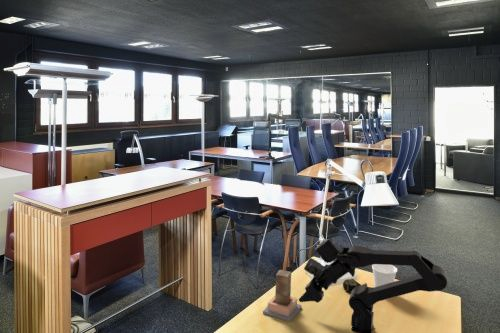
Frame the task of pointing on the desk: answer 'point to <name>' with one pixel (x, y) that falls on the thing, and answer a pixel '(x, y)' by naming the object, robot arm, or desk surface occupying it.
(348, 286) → the tape measure
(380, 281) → the cup
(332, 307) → the desk surface
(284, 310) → the socket stand
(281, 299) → the walnut pillar
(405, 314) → the desk surface
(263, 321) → the desk surface
